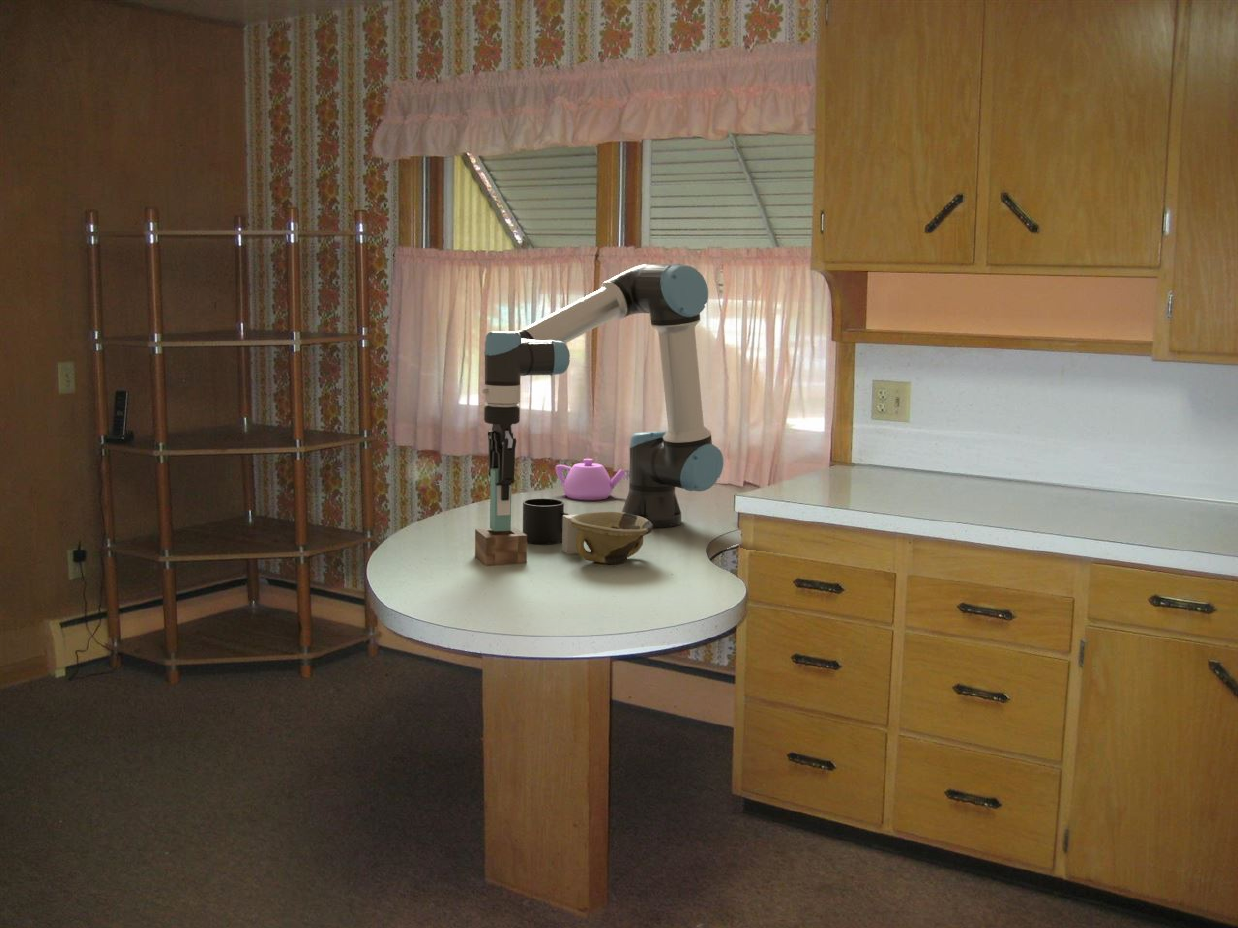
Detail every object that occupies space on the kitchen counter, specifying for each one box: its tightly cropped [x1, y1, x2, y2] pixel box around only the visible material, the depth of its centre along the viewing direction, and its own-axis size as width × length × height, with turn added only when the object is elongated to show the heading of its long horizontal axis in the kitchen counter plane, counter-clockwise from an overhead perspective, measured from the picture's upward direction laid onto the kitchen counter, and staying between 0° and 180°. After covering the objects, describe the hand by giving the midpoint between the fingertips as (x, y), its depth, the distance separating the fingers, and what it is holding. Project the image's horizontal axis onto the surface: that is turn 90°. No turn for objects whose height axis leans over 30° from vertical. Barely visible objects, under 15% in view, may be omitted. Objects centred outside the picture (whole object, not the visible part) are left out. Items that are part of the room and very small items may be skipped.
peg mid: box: [561, 514, 579, 555], centre depth 270 cm, size 4×4×8 cm
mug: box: [522, 498, 570, 545], centre depth 280 cm, size 9×12×9 cm
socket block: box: [474, 526, 528, 566], centre depth 261 cm, size 9×9×6 cm
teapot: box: [555, 458, 627, 501], centre depth 336 cm, size 14×20×11 cm
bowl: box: [570, 511, 653, 565], centre depth 261 cm, size 18×18×10 cm
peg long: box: [489, 468, 512, 531], centre depth 259 cm, size 4×4×13 cm
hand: (500, 512), depth 259 cm, fingers closed on peg long, 4 cm apart
